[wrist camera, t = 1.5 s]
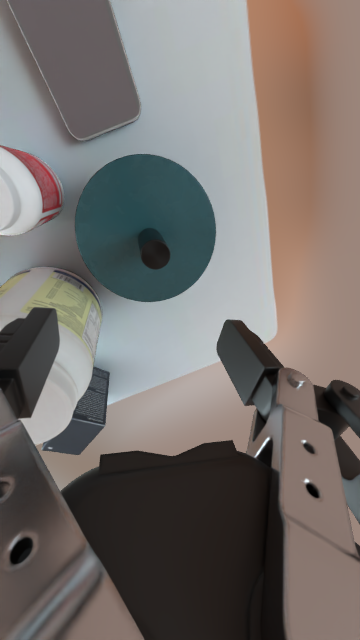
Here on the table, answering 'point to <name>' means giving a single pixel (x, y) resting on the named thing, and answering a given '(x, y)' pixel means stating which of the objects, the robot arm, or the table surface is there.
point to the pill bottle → (27, 192)
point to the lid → (145, 228)
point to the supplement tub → (75, 340)
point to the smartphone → (81, 62)
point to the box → (84, 417)
